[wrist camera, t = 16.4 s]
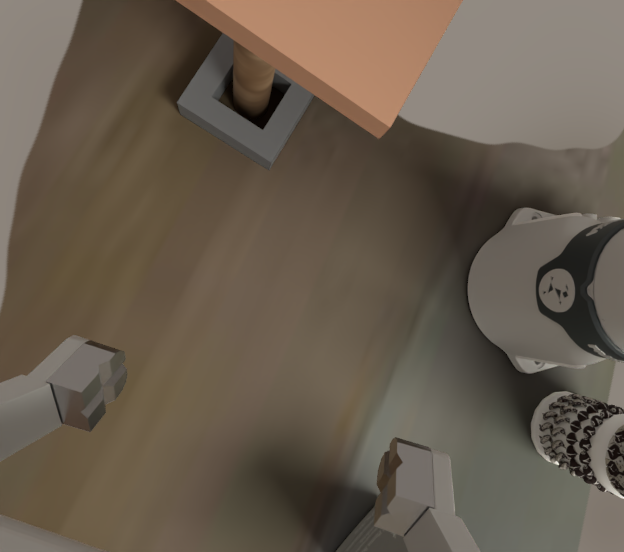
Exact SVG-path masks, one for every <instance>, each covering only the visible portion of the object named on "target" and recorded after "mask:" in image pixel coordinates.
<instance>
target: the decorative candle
mask: <svg viewBox="0 0 624 552" xmlns="http://www.w3.org/2000/svg"><path fill="white" fill-rule="evenodd" d="M531 439H532V441H533V443H534V446H535V448H536V450H537V452H538V453H539V454H540V455H541V456H542V457H543V458H544V459H545V460H547V461H549V462H552V463H555V464H558V467H559V468H560V469H567V468H568V467H569V471H570V474H571V475H572V476H575V475H577V476H578V477H580V478H583V479H584V481H585V482H586V483H588V484H593V485H597V488H598V489H599V490H600V491H602V492H607V491H609V492H610V493H611V494H615V495H617V496H619V497H620V498H623V499H624V410H623V409H622V408H620V407H617V406H615V405H609V406H608V404H606V403H603V402H601V401H599V400H596V399H592V398H588V397H586V396H580V395H578V394H573V393H570V392H568V391H561V392H554V393H552V394H550V395H549V396H547V397H545V398H544V399H543V400H542V401H541V402H540V404H539V405H538V406H537V408H536V409H535V411H534V414H533V418H532V421H531Z"/></svg>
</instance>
